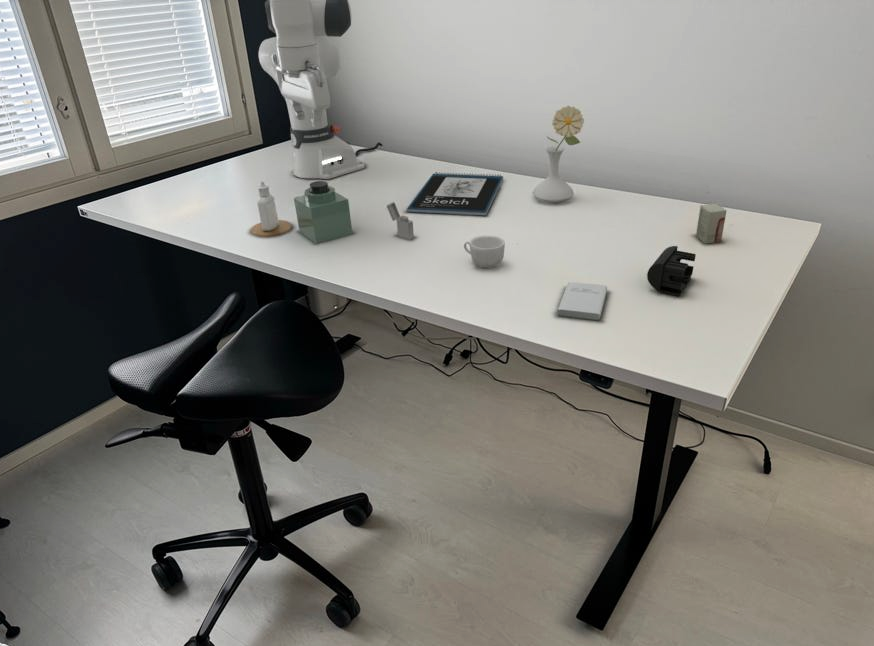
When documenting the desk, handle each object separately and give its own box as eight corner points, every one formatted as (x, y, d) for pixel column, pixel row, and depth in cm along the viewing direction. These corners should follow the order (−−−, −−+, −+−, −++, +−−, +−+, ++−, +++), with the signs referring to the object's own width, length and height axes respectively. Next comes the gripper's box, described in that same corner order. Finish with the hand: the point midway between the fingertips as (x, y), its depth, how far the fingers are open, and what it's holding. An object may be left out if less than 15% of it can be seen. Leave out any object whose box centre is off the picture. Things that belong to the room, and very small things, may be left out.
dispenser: (334, 222, 177) (329, 181, 171) (352, 233, 170) (347, 191, 164) (299, 231, 173) (292, 189, 167) (316, 243, 166) (309, 200, 160)
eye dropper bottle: (285, 225, 175) (276, 180, 168) (267, 232, 171) (258, 186, 164) (274, 222, 177) (266, 177, 170) (256, 228, 173) (247, 183, 167)
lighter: (414, 237, 167) (412, 206, 163) (409, 239, 166) (407, 208, 162) (393, 231, 171) (390, 200, 167) (388, 233, 170) (385, 202, 166)
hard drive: (557, 316, 132) (567, 288, 142) (599, 321, 130) (606, 292, 140) (557, 308, 131) (567, 281, 141) (600, 313, 129) (607, 285, 139)
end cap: (659, 272, 147) (663, 243, 144) (692, 278, 144) (697, 249, 140) (644, 290, 140) (648, 260, 136) (678, 298, 137) (683, 267, 133)
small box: (721, 242, 160) (727, 210, 155) (704, 244, 159) (710, 212, 155) (711, 234, 164) (717, 203, 159) (694, 236, 163) (700, 204, 159)
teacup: (510, 261, 154) (511, 239, 151) (494, 274, 148) (493, 251, 146) (473, 253, 158) (472, 231, 156) (455, 265, 153) (454, 243, 150)
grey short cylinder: (324, 187, 168) (322, 179, 167) (331, 192, 165) (330, 184, 164) (307, 191, 166) (306, 183, 165) (315, 196, 163) (314, 188, 162)
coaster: (282, 219, 180) (282, 217, 180) (297, 230, 173) (297, 228, 173) (246, 228, 175) (245, 226, 175) (260, 240, 169) (260, 237, 168)
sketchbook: (407, 213, 182) (406, 205, 181) (434, 177, 207) (433, 171, 206) (486, 216, 178) (485, 208, 177) (503, 180, 203) (503, 173, 202)
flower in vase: (526, 203, 185) (529, 108, 172) (538, 190, 194) (542, 99, 180) (573, 208, 181) (579, 111, 167) (583, 194, 190) (590, 101, 176)
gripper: (332, 63, 144) (341, 129, 151) (293, 52, 158) (303, 113, 165) (305, 67, 141) (315, 134, 148) (268, 55, 155) (279, 117, 162)
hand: (308, 123), depth 157 cm, fingers open, 8 cm apart
